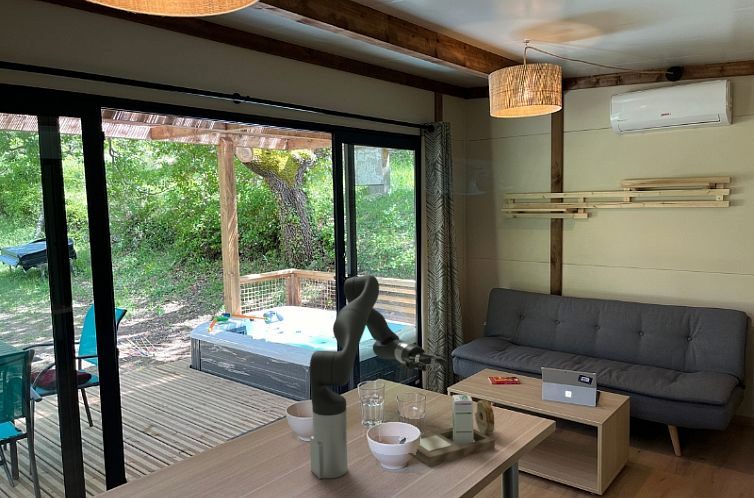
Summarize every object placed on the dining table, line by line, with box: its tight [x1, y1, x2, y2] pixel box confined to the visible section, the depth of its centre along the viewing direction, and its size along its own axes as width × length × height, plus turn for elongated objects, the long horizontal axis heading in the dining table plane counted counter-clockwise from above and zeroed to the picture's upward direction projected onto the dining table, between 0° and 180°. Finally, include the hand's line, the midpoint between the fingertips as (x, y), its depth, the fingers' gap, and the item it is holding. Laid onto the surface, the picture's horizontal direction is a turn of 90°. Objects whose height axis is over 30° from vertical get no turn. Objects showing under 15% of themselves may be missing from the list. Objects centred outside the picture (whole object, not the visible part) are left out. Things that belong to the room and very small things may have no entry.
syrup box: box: [451, 394, 474, 446], centre depth 171 cm, size 6×6×14 cm
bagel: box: [474, 399, 495, 435], centre depth 181 cm, size 10×4×10 cm, turn 9°
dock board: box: [414, 427, 496, 467], centre depth 169 cm, size 24×14×3 cm, turn 119°
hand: (436, 366), depth 182 cm, fingers open, 8 cm apart
